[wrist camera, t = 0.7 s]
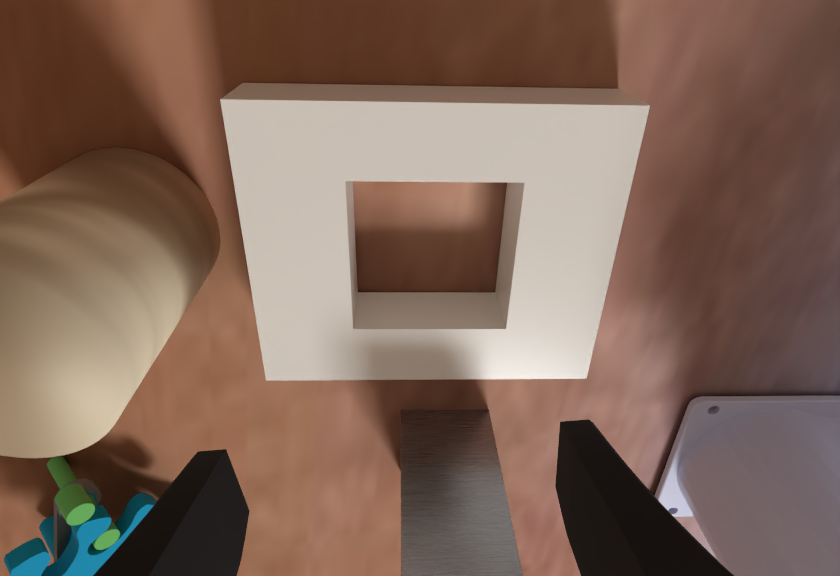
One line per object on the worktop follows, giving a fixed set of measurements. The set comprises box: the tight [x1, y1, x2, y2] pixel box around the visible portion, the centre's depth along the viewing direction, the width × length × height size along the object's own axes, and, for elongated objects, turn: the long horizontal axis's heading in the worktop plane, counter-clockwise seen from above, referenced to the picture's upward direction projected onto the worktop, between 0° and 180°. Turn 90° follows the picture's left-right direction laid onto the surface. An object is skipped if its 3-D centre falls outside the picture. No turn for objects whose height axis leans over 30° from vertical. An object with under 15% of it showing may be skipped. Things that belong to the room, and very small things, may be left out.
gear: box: [4, 456, 156, 576], centre depth 25 cm, size 11×6×10 cm
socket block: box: [220, 83, 650, 380], centre depth 19 cm, size 12×10×2 cm
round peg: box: [0, 147, 220, 458], centre depth 16 cm, size 6×6×8 cm
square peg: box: [401, 410, 523, 576], centre depth 22 cm, size 4×4×8 cm
